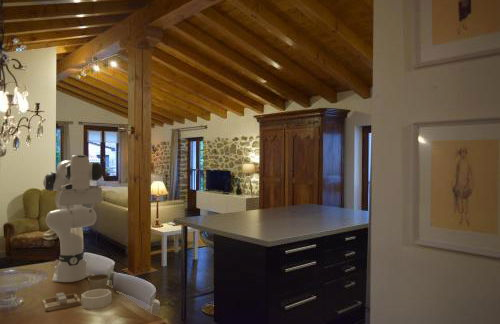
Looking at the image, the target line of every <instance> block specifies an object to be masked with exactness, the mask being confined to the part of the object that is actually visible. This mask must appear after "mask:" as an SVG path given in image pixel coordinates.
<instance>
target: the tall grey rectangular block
mask: <svg viewBox="0 0 500 324" xmlns="http://www.w3.org/2000/svg"><path fill="white" fill-rule="evenodd" d="M65 295H66V294H65V292H57V293H55V297H56V302H57V304H58V297H60V296H65Z"/></svg>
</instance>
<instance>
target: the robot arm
mask: <svg viewBox="0 0 500 324" xmlns="http://www.w3.org/2000/svg"><path fill="white" fill-rule="evenodd" d="M103 175H104V169H103V166H102V165H101V163H99V162H98V161H97V162H90V161H89V156H87V155H85V154H74V155H72V156H71V159H66V160H62V161H60V162H59V163H58V164H57V166H56V171H54V170H52V171H51V172H49V173H47V174H46V175H45V176H44V178H43V182H42V183H43V187H44V189H45V191H49V192H53V191H55V192H56V195H55V200H54V202H55V206H56V209H54V210H50V211H48V213H47V214H46V217H45V224H46V226H47V227H48V228H49V229H50V230H51V231H53V232H54V233H55V234H56V235H57V237H58V239H59V244H60V253H59V262H58V264H57V265H56V266H54V267H53V268H54V269H53V270H54V273H53V277H52V280H51V281H52V282H56V283H57V282H59V283H73V282H78V281H80V280H84V279H85V278H89V277H90V276H91V275H90V274H91V273H88V272H87V261H85V259H84V256H85V255H84V251H83V250H84V249H83V246H84V245H83V243H84V242H83V238H82V237H81V236H80V235H79V234H76V233H74V232H72V230H71V229H78V228H79V229H80V228H87V227H90V226H94V225H95V223H96V221H97V218H98V217H97V216H98V215H97V213H96V211H95V210H94V208H95V206H96V205H95V204H102V201H103V197H102V192H103V188H102V187H101V186H99V185H91V184H90V183H91V182H90V181H94V182H97V181H99V180H100V179H102V177H103ZM88 204H89V205H90V206H91V207H87V206H84V205H88Z"/></svg>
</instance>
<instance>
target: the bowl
mask: <svg viewBox="0 0 500 324" xmlns="http://www.w3.org/2000/svg"><path fill="white" fill-rule="evenodd" d="M80 300H81V305H80V306H82V308H84V309H86V310H87V309H88V310H92V309H93V310H95V309H100V308H105V307H107V306H109V305H110V304H111V303H112V300H113V299H112V291H111V290H110V289H109V288H106V289H94V290H91V289H90V290H87V291H85V292H83V293H81V295H80Z"/></svg>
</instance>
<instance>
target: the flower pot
mask: <svg viewBox="0 0 500 324" xmlns="http://www.w3.org/2000/svg"><path fill="white" fill-rule="evenodd" d="M109 277H110V275H108V274H105V273H104V274H103V273H101V274H94V275H90V276H88V277H87V279H88V282H89V284H90V290H94V289H107V285H108V281H109Z"/></svg>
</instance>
